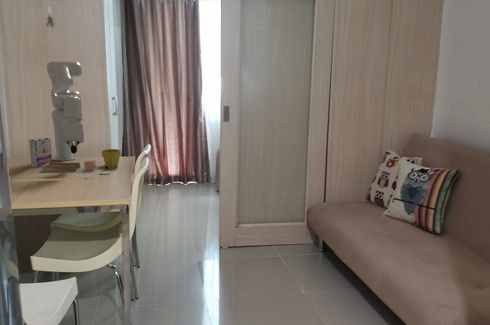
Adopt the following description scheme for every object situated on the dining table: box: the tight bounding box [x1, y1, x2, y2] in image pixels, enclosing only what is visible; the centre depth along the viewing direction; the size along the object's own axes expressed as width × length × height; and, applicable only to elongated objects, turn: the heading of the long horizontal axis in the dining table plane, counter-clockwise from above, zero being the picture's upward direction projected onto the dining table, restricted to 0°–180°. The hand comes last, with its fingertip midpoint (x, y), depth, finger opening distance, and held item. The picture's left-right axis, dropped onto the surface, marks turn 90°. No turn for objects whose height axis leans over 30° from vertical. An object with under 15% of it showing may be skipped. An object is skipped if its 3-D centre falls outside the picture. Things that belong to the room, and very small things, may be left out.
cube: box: [83, 159, 97, 171], centre depth 239 cm, size 5×5×5 cm
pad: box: [98, 170, 112, 176], centre depth 237 cm, size 7×7×1 cm
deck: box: [37, 165, 101, 174], centre depth 240 cm, size 18×29×1 cm, turn 98°
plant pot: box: [101, 148, 122, 169], centre depth 253 cm, size 10×10×10 cm
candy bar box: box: [28, 137, 53, 168], centre depth 249 cm, size 11×5×16 cm, turn 161°
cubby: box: [41, 162, 81, 172], centre depth 238 cm, size 10×17×3 cm, turn 98°
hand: (74, 153), depth 238 cm, fingers closed
